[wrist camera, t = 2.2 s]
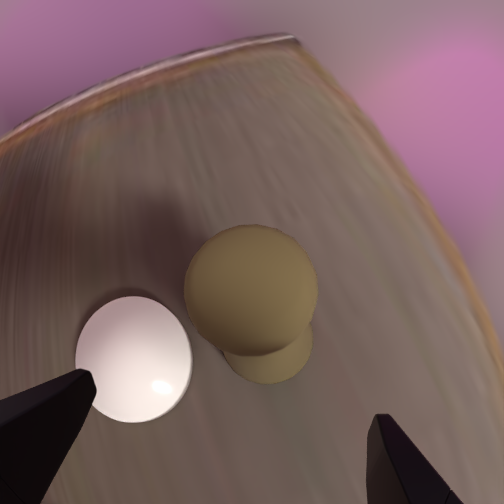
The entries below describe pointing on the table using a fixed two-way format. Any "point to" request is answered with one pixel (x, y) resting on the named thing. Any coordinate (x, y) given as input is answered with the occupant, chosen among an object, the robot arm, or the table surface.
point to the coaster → (136, 359)
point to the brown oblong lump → (254, 300)
